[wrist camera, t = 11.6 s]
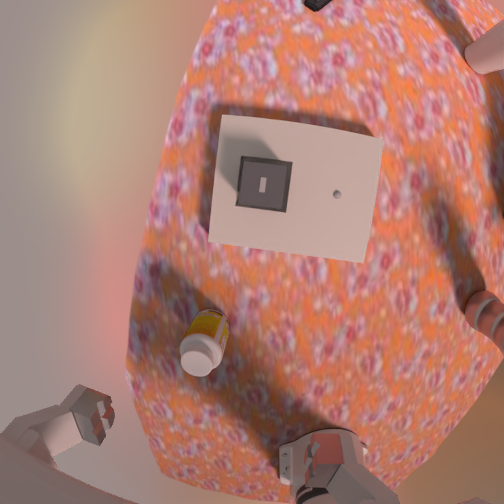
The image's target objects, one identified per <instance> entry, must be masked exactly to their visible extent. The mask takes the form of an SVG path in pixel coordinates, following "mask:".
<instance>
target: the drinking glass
mask: <svg viewBox="0 0 504 504" xmlns="http://www.w3.org/2000/svg"><path fill="white" fill-rule="evenodd" d="M464 54H465V59H466V61H467V63H468V65H469V66H470V67H471V69H472V70H474V71H475V72H476V73H478V74H481V75H484V74H488V73H490V72H494V71H499V70H503V69H504V20H502V21H501V22H499V23H498V24H496V25H495V26H494V27H492V28H491V29H490V30H489V31H487V32H486V33H485V34H483V35H482V36H481V37H480V38H478V39H477V40H476V41H474V42H473V43H471V44H470V45H468V46H467V47H466V48H465V52H464Z"/></svg>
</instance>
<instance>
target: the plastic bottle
mask: <svg viewBox="0 0 504 504" xmlns="http://www.w3.org/2000/svg"><path fill="white" fill-rule="evenodd" d="M465 318H466V320H467V322H468V323H469V325H470V326H471V327H472V328H474V329H475V330H477V331H479V332H481V333H483V334H484V335H486V336H487V337H488V338H490V339H491V340H492V341H493V342H494V343H495V344H496V346H497V347H498V348H499V349H500V350H501V352H502V353H503V355H504V304H503V303H502V302H501V301H500V300H499V299H498V298H497V297H496V296H495V295H494V294H493V293H492V292H489V291H486V290H483V291H479V292H477V293H475V294H474V295H473V296H472V297H471V298H470V299H469V301H468V302H467V305H466V308H465Z"/></svg>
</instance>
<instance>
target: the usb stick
mask: <svg viewBox="0 0 504 504" xmlns="http://www.w3.org/2000/svg"><path fill="white" fill-rule="evenodd" d="M330 1H332V0H305V4H304V5H305V6H306V7H308V8H309V9H311V10H312V11H314V12H316V11H319V10H320V9H322V8H323V7H324V6H325V5H327V4H328V3H329V2H330Z"/></svg>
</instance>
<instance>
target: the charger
mask: <svg viewBox="0 0 504 504" xmlns="http://www.w3.org/2000/svg"><path fill="white" fill-rule="evenodd" d="M286 172H287V166H281V165H273V164H265V163H257V162H248V161H244V164H243V173H242V181H241V190H240V198H239V203H240V204H248V205H256V206H264V207H271V208H279V209H282V202H283V195H284V187H285V179H286Z"/></svg>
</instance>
